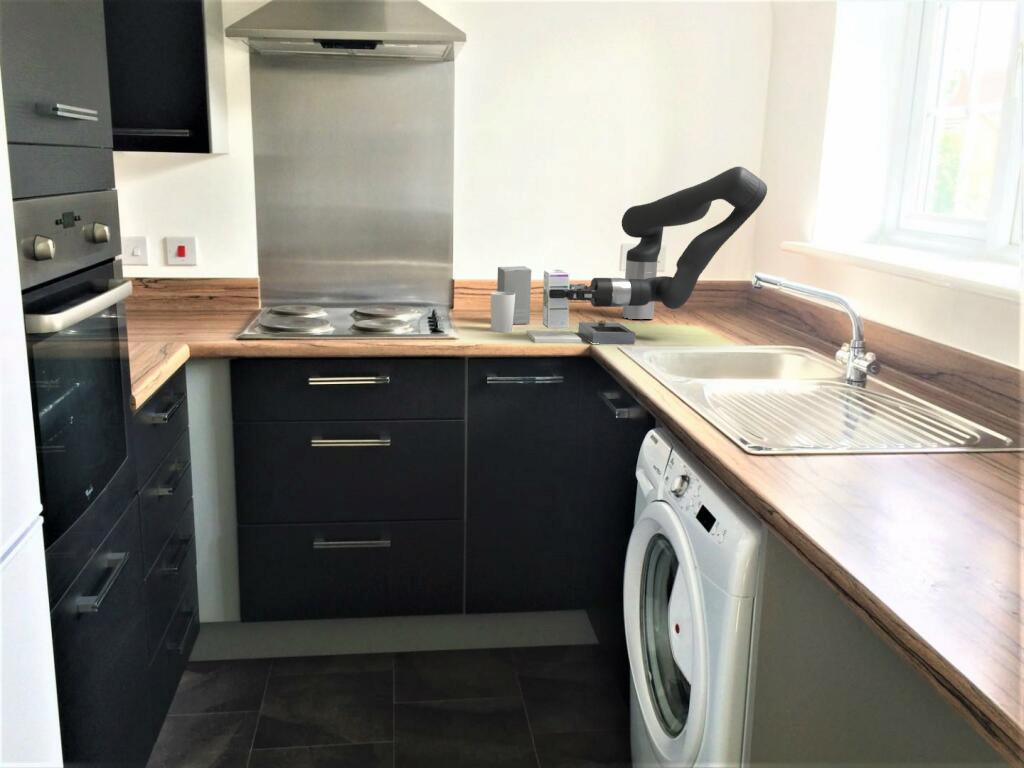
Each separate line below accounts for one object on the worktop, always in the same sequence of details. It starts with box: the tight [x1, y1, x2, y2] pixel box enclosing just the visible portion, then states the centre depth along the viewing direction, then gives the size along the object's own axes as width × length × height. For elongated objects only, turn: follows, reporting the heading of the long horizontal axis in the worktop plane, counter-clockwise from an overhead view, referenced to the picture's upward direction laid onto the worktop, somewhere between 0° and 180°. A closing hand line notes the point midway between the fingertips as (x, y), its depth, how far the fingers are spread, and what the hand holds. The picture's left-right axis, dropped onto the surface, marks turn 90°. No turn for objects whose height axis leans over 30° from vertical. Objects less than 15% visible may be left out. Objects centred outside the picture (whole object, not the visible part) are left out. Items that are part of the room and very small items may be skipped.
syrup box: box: [542, 269, 571, 329], centre depth 241 cm, size 6×6×14 cm
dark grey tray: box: [577, 319, 636, 344], centre depth 245 cm, size 16×11×4 cm
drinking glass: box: [490, 291, 515, 333], centre depth 251 cm, size 7×7×10 cm
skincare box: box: [496, 265, 533, 325], centre depth 263 cm, size 8×7×16 cm
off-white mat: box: [526, 329, 582, 344], centre depth 243 cm, size 12×12×1 cm
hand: (547, 292), depth 240 cm, fingers closed on syrup box, 6 cm apart
